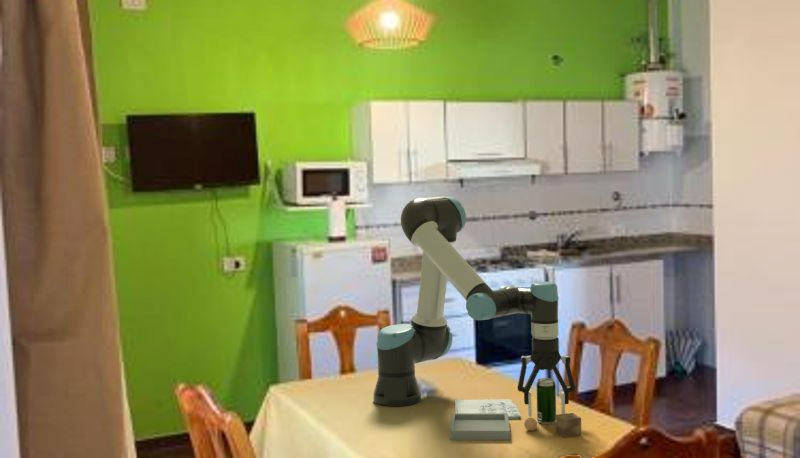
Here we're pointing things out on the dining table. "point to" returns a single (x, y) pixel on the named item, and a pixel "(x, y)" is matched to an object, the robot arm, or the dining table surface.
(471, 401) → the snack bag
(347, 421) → the dining table surface
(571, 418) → the walnut block
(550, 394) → the beer can
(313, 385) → the dining table surface
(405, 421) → the dining table surface
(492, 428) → the dish
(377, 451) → the dining table surface
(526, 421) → the terracotta ball
